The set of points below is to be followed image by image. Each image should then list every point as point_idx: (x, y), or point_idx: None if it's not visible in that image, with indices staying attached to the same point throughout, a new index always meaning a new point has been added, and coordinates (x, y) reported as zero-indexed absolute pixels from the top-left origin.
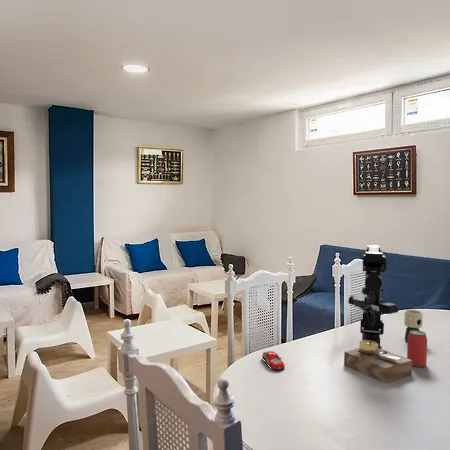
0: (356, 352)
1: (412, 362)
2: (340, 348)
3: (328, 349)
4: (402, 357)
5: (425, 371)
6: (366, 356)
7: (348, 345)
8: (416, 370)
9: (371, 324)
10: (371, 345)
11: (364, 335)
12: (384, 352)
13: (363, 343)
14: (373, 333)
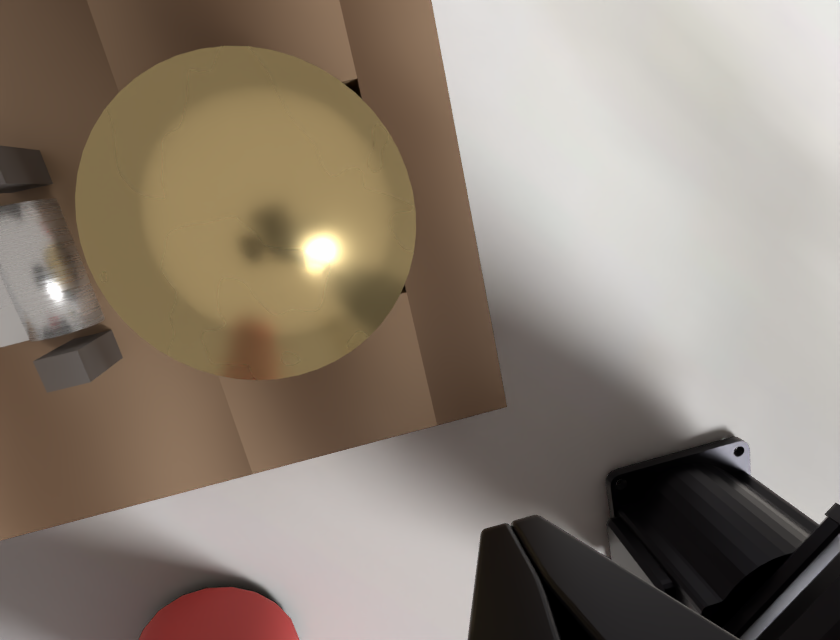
0: (316, 35)
1: (174, 613)
2: (773, 233)
3: (808, 91)
4: (7, 519)
5: (56, 620)
6: (126, 72)
7: (796, 355)
8: (92, 565)
9: (492, 570)
10: (109, 184)
11: (785, 528)
12: (29, 333)
13: (248, 103)
14: (734, 621)
